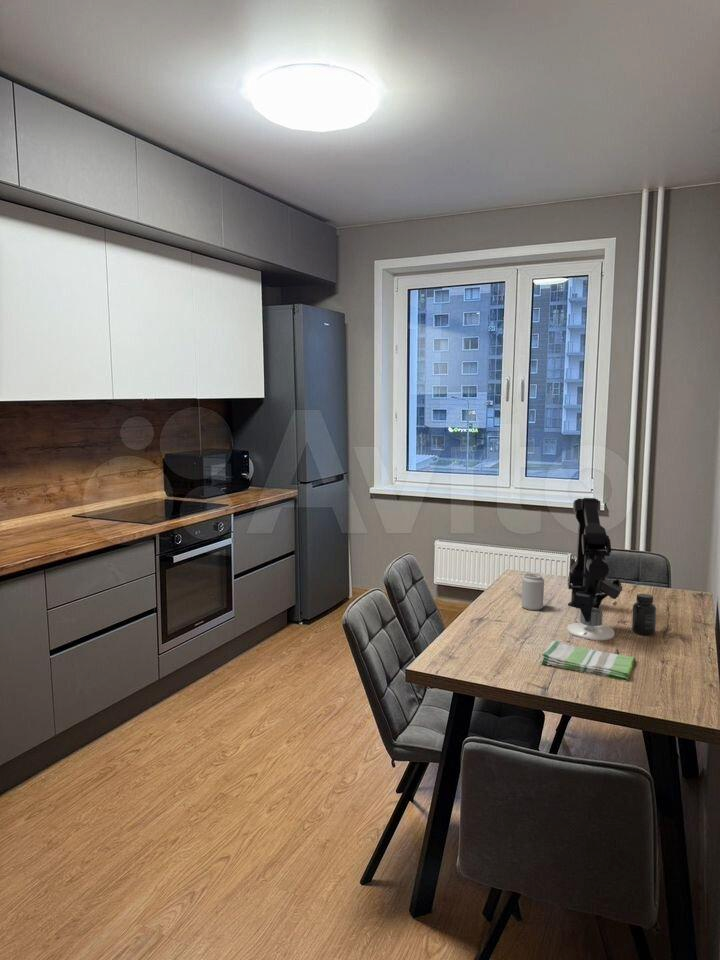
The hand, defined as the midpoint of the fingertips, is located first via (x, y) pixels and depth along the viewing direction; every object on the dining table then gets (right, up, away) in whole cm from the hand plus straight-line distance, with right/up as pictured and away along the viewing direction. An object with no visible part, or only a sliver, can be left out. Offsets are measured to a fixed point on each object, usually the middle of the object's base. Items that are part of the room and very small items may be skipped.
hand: (591, 619), depth 206 cm
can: (-12, -2, +26) cm, 29 cm away
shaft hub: (0, -4, 0) cm, 4 cm away
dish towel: (-9, -8, -24) cm, 27 cm away
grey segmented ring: (0, -1, 0) cm, 1 cm away
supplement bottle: (+17, -5, +1) cm, 18 cm away
